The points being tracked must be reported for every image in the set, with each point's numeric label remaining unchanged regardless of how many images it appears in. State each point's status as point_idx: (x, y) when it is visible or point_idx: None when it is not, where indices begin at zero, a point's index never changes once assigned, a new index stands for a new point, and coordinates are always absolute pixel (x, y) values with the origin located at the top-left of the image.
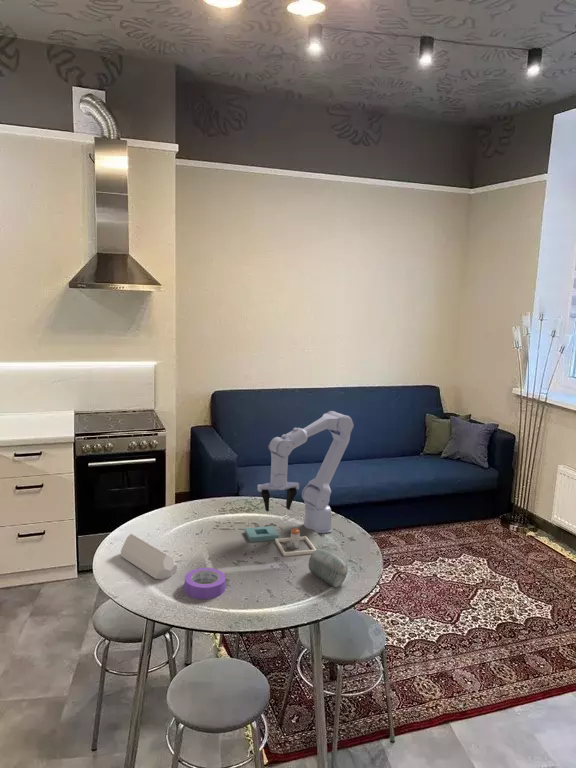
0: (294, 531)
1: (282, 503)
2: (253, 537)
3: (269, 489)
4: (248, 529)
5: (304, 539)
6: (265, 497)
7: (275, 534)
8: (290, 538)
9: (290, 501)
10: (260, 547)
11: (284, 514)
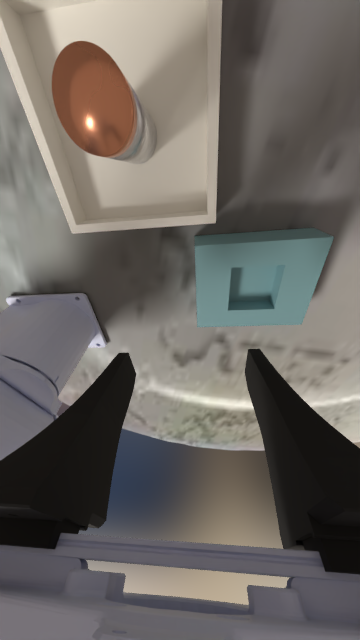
0: (100, 48)
1: (142, 426)
2: (317, 237)
3: (302, 570)
4: (294, 313)
5: (84, 222)
6: (356, 456)
7: (206, 256)
8: (144, 219)
9: (93, 396)
10: (277, 207)
11: (143, 394)
